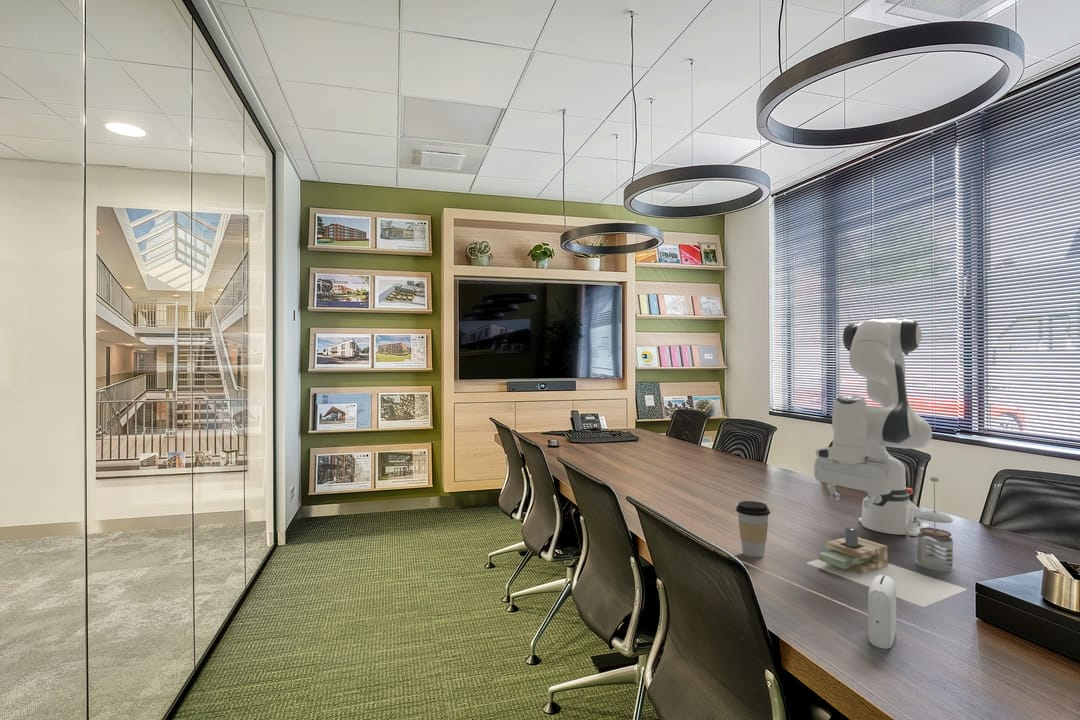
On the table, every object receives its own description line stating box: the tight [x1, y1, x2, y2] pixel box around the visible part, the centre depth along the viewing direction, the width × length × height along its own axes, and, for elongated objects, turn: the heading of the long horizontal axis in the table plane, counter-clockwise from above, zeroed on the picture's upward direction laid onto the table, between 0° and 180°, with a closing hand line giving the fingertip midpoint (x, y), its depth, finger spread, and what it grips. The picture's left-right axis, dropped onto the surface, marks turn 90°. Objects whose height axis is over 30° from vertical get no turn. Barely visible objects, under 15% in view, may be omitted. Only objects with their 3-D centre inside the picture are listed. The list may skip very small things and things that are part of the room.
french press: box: [905, 476, 957, 572], centre depth 146 cm, size 10×12×25 cm
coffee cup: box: [735, 500, 771, 558], centre depth 155 cm, size 9×9×15 cm
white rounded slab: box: [867, 575, 897, 650], centre depth 108 cm, size 10×4×12 cm, turn 140°
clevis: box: [818, 536, 888, 574], centre depth 145 cm, size 17×10×6 cm, turn 117°
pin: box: [844, 526, 859, 549], centre depth 145 cm, size 3×3×10 cm
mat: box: [806, 558, 969, 608], centre depth 138 cm, size 20×30×1 cm, turn 27°
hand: (851, 503), depth 146 cm, fingers open, 8 cm apart
